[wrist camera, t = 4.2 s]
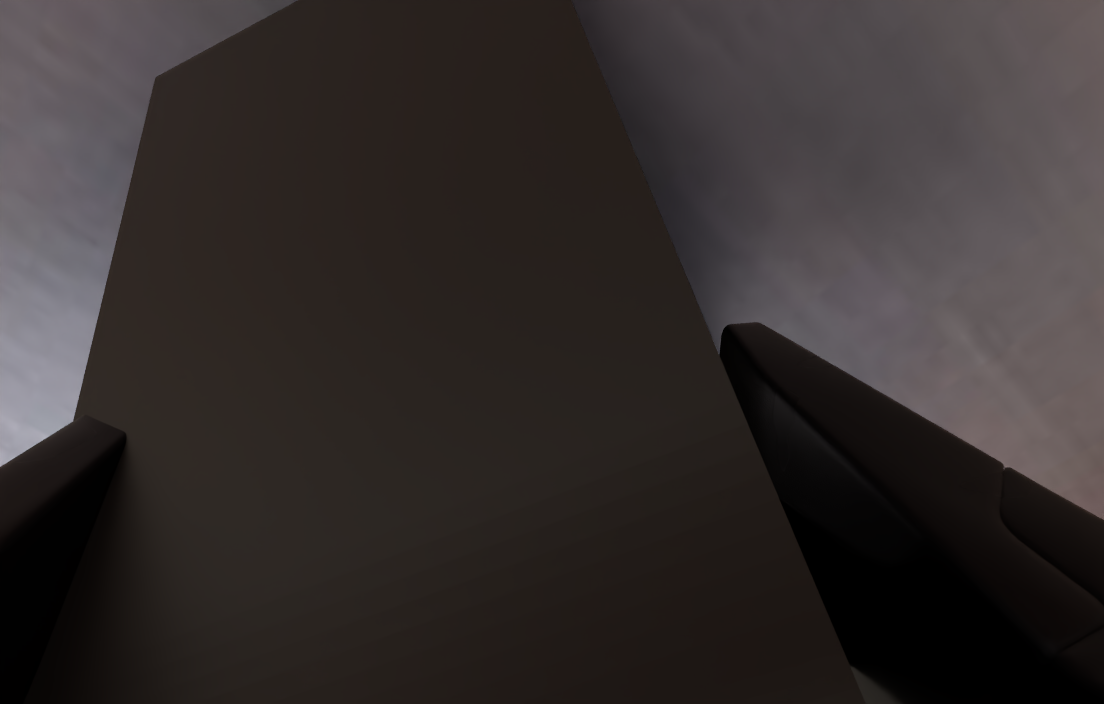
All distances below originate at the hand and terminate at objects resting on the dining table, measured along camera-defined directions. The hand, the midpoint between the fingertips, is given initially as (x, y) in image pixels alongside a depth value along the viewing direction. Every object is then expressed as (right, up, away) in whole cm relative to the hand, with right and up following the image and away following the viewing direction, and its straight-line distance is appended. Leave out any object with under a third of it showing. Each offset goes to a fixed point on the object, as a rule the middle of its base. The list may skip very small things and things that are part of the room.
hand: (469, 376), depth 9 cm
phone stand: (0, +2, +5) cm, 5 cm away
